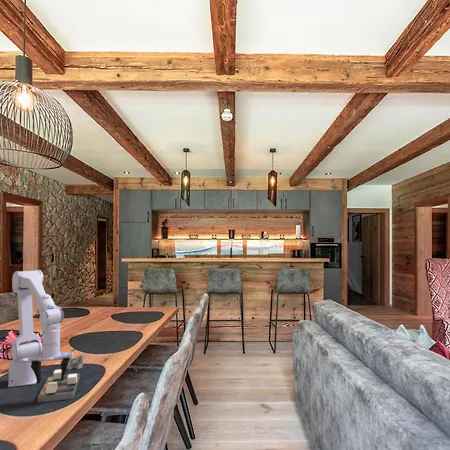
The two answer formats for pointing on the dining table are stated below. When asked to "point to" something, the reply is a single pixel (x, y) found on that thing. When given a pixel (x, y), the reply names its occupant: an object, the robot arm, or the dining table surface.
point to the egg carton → (76, 363)
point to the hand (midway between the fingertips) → (50, 381)
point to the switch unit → (58, 390)
